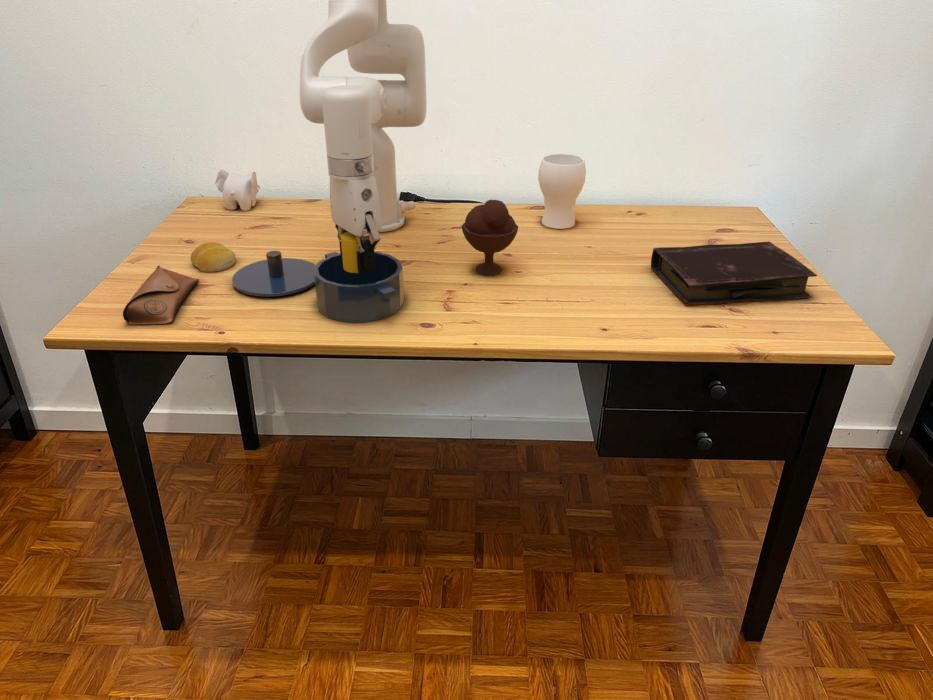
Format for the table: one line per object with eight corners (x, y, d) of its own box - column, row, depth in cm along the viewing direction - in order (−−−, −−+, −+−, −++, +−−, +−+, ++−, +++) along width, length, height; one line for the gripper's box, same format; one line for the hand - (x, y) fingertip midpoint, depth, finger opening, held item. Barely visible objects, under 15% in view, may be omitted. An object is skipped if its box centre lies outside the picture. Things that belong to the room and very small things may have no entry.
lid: (296, 256, 151) (293, 231, 148) (335, 284, 140) (333, 256, 137) (219, 276, 143) (214, 249, 140) (254, 307, 131) (250, 279, 128)
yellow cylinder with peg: (363, 259, 133) (360, 221, 129) (378, 268, 129) (375, 230, 126) (337, 265, 130) (334, 227, 126) (352, 275, 127) (349, 236, 123)
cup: (588, 221, 171) (594, 157, 164) (568, 234, 163) (574, 169, 156) (548, 212, 176) (552, 150, 168) (527, 225, 168) (531, 161, 161)
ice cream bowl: (521, 263, 149) (525, 193, 142) (506, 285, 140) (509, 211, 133) (472, 256, 152) (473, 186, 145) (454, 277, 143) (454, 204, 136)
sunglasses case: (174, 321, 125) (147, 292, 122) (143, 340, 127) (115, 311, 124) (201, 278, 141) (177, 250, 138) (173, 295, 142) (149, 268, 139)
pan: (367, 273, 145) (365, 240, 141) (428, 312, 130) (427, 276, 127) (296, 293, 136) (291, 259, 133) (352, 337, 122) (349, 300, 119)
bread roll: (205, 276, 143) (201, 257, 141) (186, 262, 148) (183, 244, 146) (244, 265, 147) (241, 247, 145) (225, 252, 153) (221, 234, 151)
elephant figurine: (271, 199, 183) (267, 164, 178) (251, 215, 173) (245, 178, 168) (236, 196, 184) (230, 161, 180) (213, 212, 174) (207, 176, 169)
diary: (649, 267, 148) (652, 244, 146) (762, 260, 152) (768, 238, 149) (686, 309, 132) (691, 284, 130) (812, 300, 136) (819, 276, 133)
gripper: (397, 173, 117) (401, 276, 126) (344, 150, 128) (352, 246, 137) (357, 181, 113) (364, 287, 122) (306, 157, 124) (316, 255, 133)
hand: (357, 264), depth 129 cm, fingers closed on yellow cylinder with peg, 5 cm apart
